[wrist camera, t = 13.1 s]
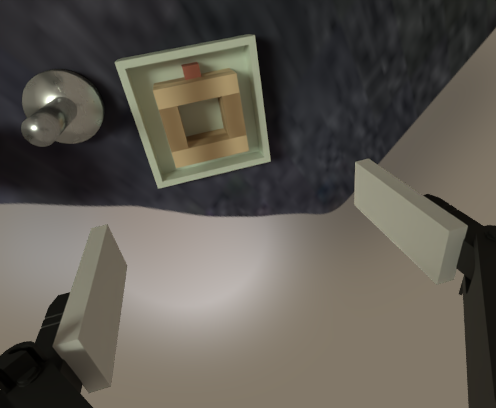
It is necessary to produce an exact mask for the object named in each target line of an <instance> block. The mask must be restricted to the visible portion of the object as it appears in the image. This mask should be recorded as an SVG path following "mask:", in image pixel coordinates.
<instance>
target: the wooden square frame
mask: <svg viewBox="0 0 496 408" xmlns="http://www.w3.org/2000/svg"><path fill="white" fill-rule="evenodd" d="M181 66H182V70H183V74H184V77H182V78H177V79H172V80H168V81H163V82H158V83H154V85H153V93H154V96H155V99H156V103H157V106H158V109H159V113H160V116H161V119H162V123H163V126H164V129H165V133H166V136H167V139H168V143H169V146H170V149H171V152H172V156H173V159H174V162H175V166H176V168H179V167H184V166H188V165H192V164H196V163H200V162H205V161H209V160H213V159H217V158H221V157H226V156H230V155H234V154H238V153H242V152H247V151H249V147H248V141H247V135H246V128H245V122H244V116H243V110H242V104H241V98H240V92H239V86H238V79H237V73H235V72H234V71H233V70H231V69H230V68H226V69H221V70H216V71H211V72H206V73H202V74H201V73H200V68H199V64H198V63H197V62H193V63H188V64H183V65H181ZM216 97H218V102H219V107H220V112H221V117H222V122H223V127H224V128H222V129H217V130H213V131H208V132H204V133H200V134H195V135H191V136H186V134H185V130H184V126H183V123H182V119H181V115H180V111H179V108H178V106H179V105H184V104H189V103H193V102H198V101H202V100H207V99H212V98H216Z"/></svg>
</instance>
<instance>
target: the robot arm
mask: <svg viewBox="0 0 496 408" xmlns="http://www.w3.org/2000/svg"><path fill="white" fill-rule="evenodd" d="M354 205H355V206H356V207H357V208H358V209H359V210H360V211H361V212H362V213H363V214H364V215H365V216H366V217H367V218H368V219H369V220H370V221H371V222H373V223H374V224H375V225H376V226H377V227H378V228H379V229H380V230H381V231H382V232H383V233H384V234H385V235H386V236H387V237H388V238H389V239H390V240H391V241H392V242H393V243H394V244H395V245H396V246H397V247H398V248H400V250H402V251H403V252H404V253H405V254H406V255H407V256H408V257H409V258H410V259H411V260H412V261H413V262H414V263H415V264H416V265H417V266H418V267H419V268H420V269H422V271H423V272H424V273H425V274H427V276H429V277H430V278H431V279H432V280H433V281H434V282H435V283H436V284H441V283H444V282H447V281H451V280H454V277H455V273H456V269H458V270H459V271H461V272H462V273H463V274H464V277H463V281H462V284H461V288H460V291H459V294H460V295H462V293H463V301H464V302H463V303H464V323H465V342H466V362H467V382H468V401H469V408H496V226H492V225H487V226H483V225H481V224H480V223H478V222H476V221H475V220H473V219H472V218H470V217H468V216H467V215H466V214H464V213H462V212H461V211H459V210H457V209H456V208H454V207H453V206H452V205H449V204H448V203H447V202H445V201H444V200H442V199H441V198H438V197H435V196H433V195H430V194H426V195H422V194H420V193H419V192H417V191H416V190H414V189H413V188H411V187H410V186H408V185H407V184H405V183H404V182H402V181H401V180H399V179H398V178H396V177H395V176H393V175H392V174H391V173H389V172H388V171H386V170H385V169H383V168H382V167H380V166H379V165H377V164H376V163H374V162H373V161H371V160H370V159H365V160H361V161H357V162H355V193H354ZM126 270H127V264H126V262H125V260H124V258H123V256H122V254H121V252H120V250H119V248H118V245H117V243H116V241H115V239H114V237H113V235H112V233H111V231H110V229H109V227H108V225H103V226H99V227H95V228H92V229H91V231H90V234H89V237H88V240H87V244H86V246H85V249H84V253H83V256H82V259H81V262H80V265H79V268H78V271H77V274H76V277H75V280H74V283H73V286H72V289H71V292H69V293H66V294H62V295H58V296H57V298H56V299H55V300H54V301H53V302H52V304H51V305H50V306H49V308H48V310H47V313H46V316H45V320H44V321H43V323H42V326H41V327H42V329H40V331H39V334H38V336H37V339H36V342H35V343H34V342H31V341H29V342H22V343H19V344H16V345H14V346H13V347H11V348H9V349H8V350H6V351H5V352H4V353H3V354H2V355H1V356H0V389H1V390H0V408H93V407H92V406H91V405H90V404H89V403H88V402H87V400H86V399H84V397H83V396H82V395H81V394H80V393H81V388H82V385H83V386H84V387H85V389H86V390H87V391H88V392H89V393H91V392H94V391H98V390H101V389H104V388H107V387H110V386H111V382H112V374H113V367H114V360H115V352H116V345H117V337H118V330H119V322H120V315H121V307H122V301H123V293H124V286H125V279H126Z"/></svg>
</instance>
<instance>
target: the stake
mask: <svg viewBox="0 0 496 408" xmlns="http://www.w3.org/2000/svg"><path fill="white" fill-rule="evenodd" d="M22 104H23V109H24V112H25V115H26V117H27V119H26V120H24V122H23V123H22V126H21V131H22V134H23V136H24V138H25V139H26V140H27V141H28V142H30V143H31V144H33V145H36V146H40V147H45V146H49V145H51V144H52V143H53V142H54V141H57V142H61V143H67V144H74V143H80V142H84V141H86V140H88V139H90V138H91V137H92V136H94V135H95V133H96V132H97V131H98V129H99V128H100V126H101V124H102V122H103V120H104V115H105V107H104V102H103V99H102V97H101V95H100V93H99V91H98V90H97V88H96V87H95V86H94V85H93V84H92V83H91V82H90V81H89V80H88V79H87V78H85V77H84V76H82V75H80V74H78V73H76V72H73V71H70V70H65V69H52V70H48V71H45V72H43V73H40V74H38V75H36V76H35V77H33V78H32V79H31V80H30V81H29V82H28V83H27V85H26V86H25V88H24V91H23V96H22Z"/></svg>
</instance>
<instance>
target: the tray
mask: <svg viewBox="0 0 496 408" xmlns="http://www.w3.org/2000/svg"><path fill="white" fill-rule="evenodd" d="M193 62H197V63H198V64H199V68H200V73H201V74H202V73H206V72H211V71H216V70H221V69H226V68H230V69H231V70H233V71H234V72H235V73H237V79H238V86H239V92H240V98H241V104H242V110H243V116H244V122H245V128H246V135H247V141H248V147H249V151H247V152H242V153H238V154H234V155H230V156H226V157H221V158H217V159H213V160H209V161H205V162H200V163H196V164H192V165H188V166H184V167H179V168H176V166H175V162H174V159H173V156H172V152H171V149H170V146H169V143H168V139H167V136H166V133H165V129H164V126H163V123H162V119H161V116H160V113H159V109H158V106H157V103H156V99H155V96H154V93H153V85H154V83H158V82H163V81H168V80H172V79H177V78H182V77H184V74H183V70H182V66H181V65H183V64H188V63H193ZM115 65H116V68H117V71H118V74H119V76H120V79H121V82H122V85H123V88H124V91H125V94H126V97H127V100H128V102H129V105H130V108H131V111H132V114H133V117H134V120H135V123H136V126H137V129H138V131H139V134H140V137H141V140H142V143H143V146H144V149H145V152H146V155H147V158H148V160H149V163H150V166H151V169H152V172H153V175H154V178H155V181H156V184H157V186H158V189H159V188H163V187H167V186H171V185H175V184H179V183H183V182H188V181H192V180H196V179H200V178H204V177H208V176H212V175H216V174H221V173H225V172H229V171H233V170H237V169H241V168H245V167H249V166H254V165H258V164H262V163H266V162H270V161H271V159H270V151H269V143H268V135H267V128H266V120H265V112H264V104H263V96H262V88H261V80H260V72H259V64H258V56H257V48H256V40H255V35H250V34H247V35H241V36H236V37H231V38H226V39H221V40H215V41H210V42H205V43H200V44H194V45H189V46H184V47H179V48H174V49H168V50H163V51H158V52H153V53H147V54H142V55H137V56H132V57H127V58H121V59H118V60H117V61H116V62H115ZM178 108H179V111H180V115H181V119H182V123H183V126H184V130H185V134H186V136H191V135H195V134H200V133H204V132H208V131H213V130H217V129H222V128H224V127H223V122H222V117H221V112H220V107H219V102H218V97H216V98H212V99H207V100H202V101H198V102H193V103H189V104H184V105H179V106H178Z"/></svg>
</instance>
